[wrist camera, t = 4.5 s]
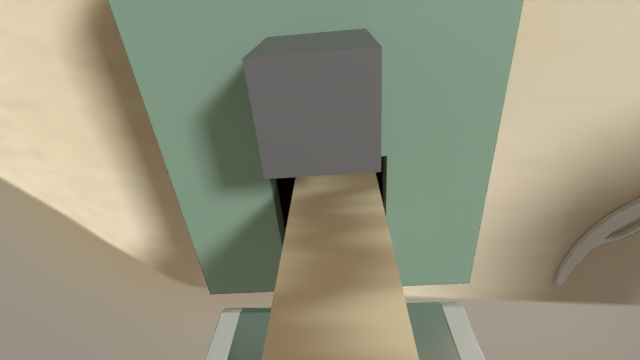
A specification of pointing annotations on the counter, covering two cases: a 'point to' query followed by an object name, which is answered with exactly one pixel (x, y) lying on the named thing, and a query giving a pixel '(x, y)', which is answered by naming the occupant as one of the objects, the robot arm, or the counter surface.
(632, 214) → the pliers
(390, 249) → the wooden block
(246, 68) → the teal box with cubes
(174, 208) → the counter surface
